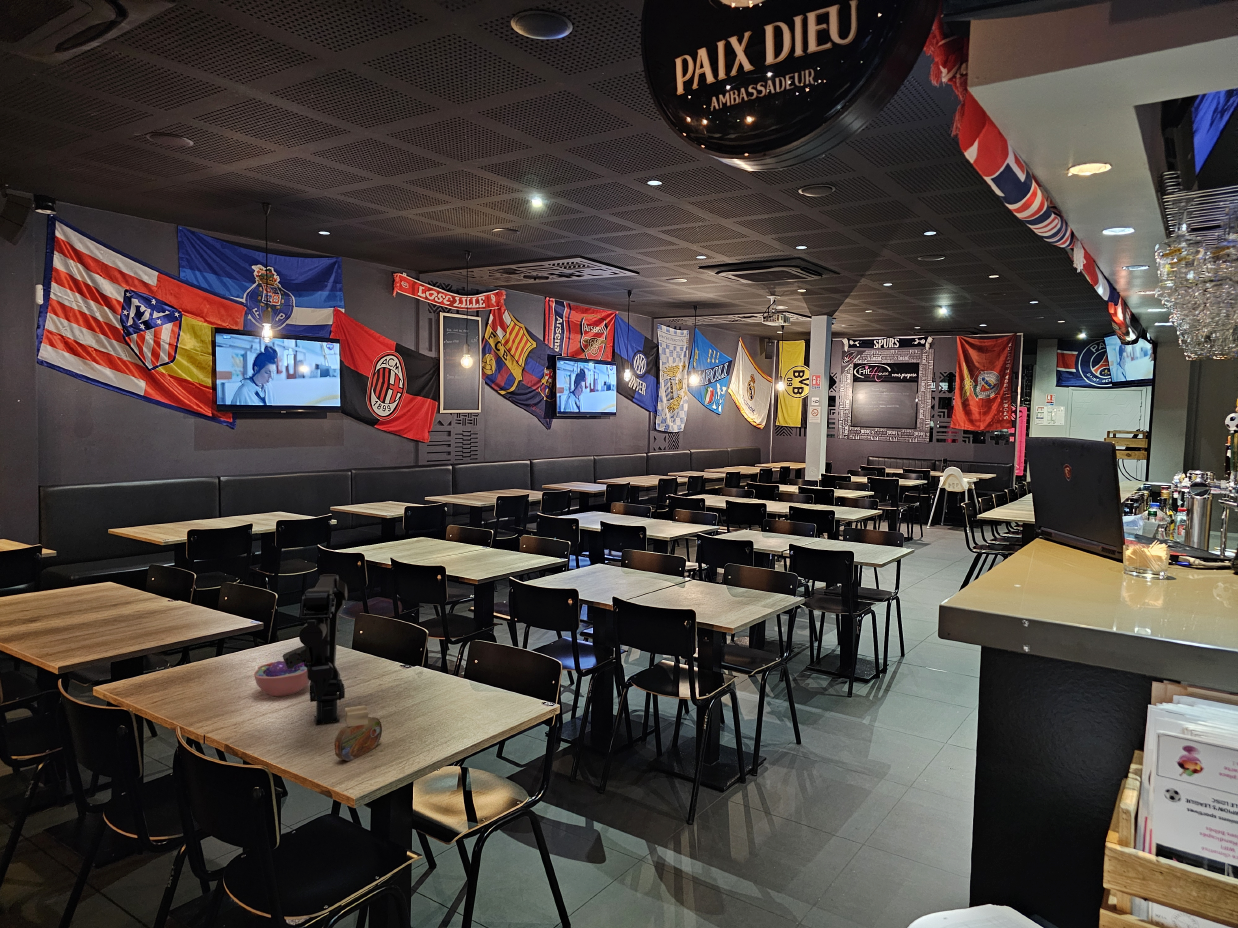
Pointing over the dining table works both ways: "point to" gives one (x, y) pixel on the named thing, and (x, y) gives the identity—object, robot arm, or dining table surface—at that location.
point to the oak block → (356, 716)
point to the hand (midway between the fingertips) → (317, 694)
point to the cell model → (281, 678)
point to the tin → (358, 739)
